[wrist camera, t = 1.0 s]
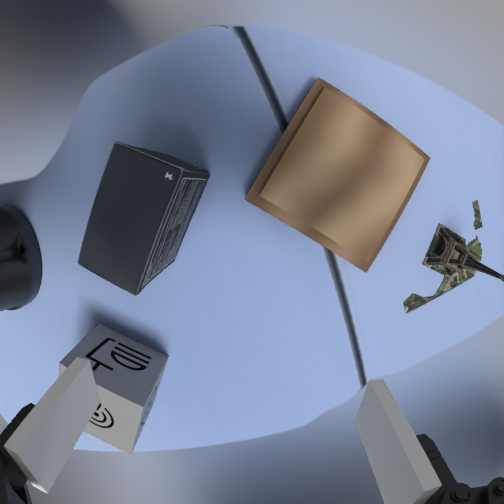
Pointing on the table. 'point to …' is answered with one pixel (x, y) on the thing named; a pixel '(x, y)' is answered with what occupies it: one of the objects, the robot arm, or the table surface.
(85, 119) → the table surface
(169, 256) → the small box
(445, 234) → the eiffel tower figurine
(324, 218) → the plinth
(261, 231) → the table surface
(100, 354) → the icon cube
